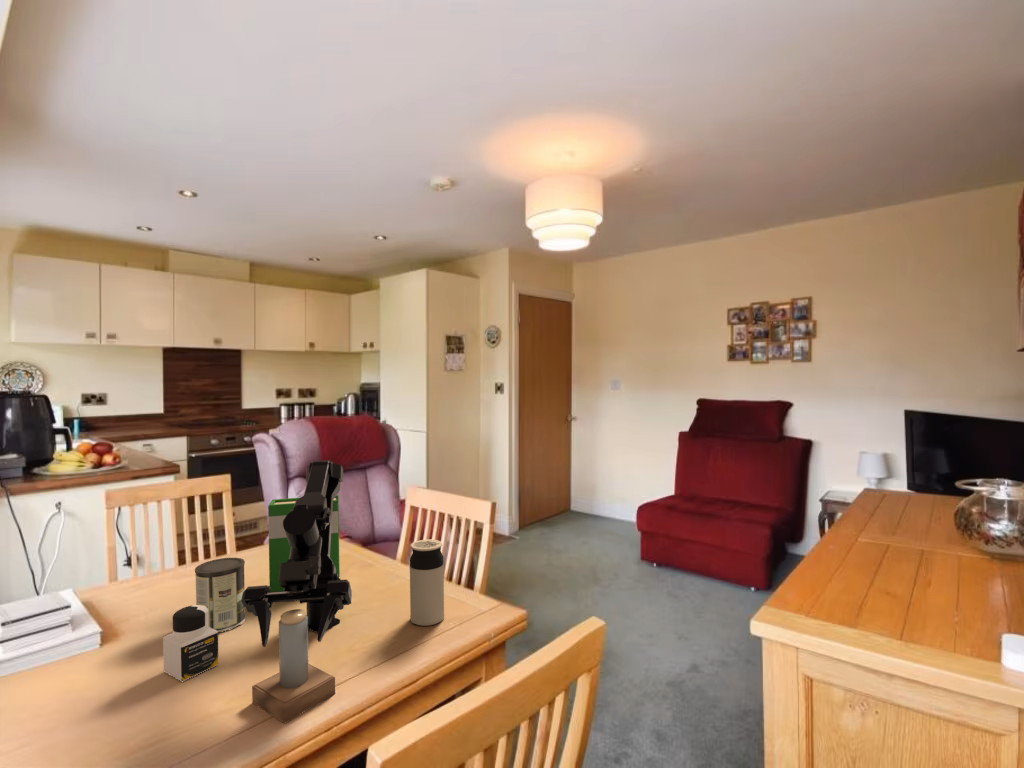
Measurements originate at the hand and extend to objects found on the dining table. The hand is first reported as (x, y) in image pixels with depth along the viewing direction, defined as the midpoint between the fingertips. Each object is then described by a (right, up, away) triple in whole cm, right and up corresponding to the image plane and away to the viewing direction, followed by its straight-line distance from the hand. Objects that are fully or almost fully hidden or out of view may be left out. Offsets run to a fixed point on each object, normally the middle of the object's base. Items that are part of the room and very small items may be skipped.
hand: (291, 643), depth 93 cm
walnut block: (0, -11, +1) cm, 11 cm away
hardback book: (-19, -10, +53) cm, 58 cm away
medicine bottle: (-25, -11, +11) cm, 29 cm away
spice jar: (0, -7, +1) cm, 8 cm away
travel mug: (+19, -10, +32) cm, 39 cm away
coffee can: (-30, -11, +31) cm, 44 cm away
